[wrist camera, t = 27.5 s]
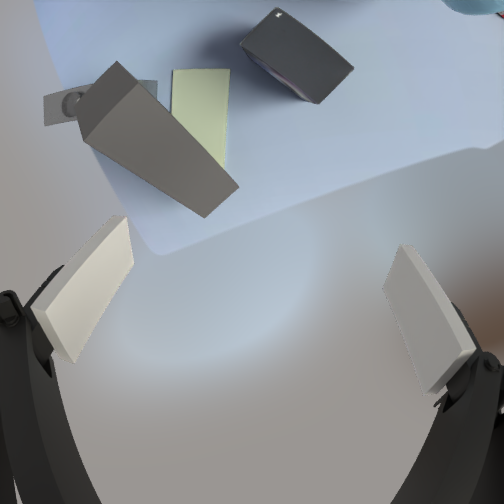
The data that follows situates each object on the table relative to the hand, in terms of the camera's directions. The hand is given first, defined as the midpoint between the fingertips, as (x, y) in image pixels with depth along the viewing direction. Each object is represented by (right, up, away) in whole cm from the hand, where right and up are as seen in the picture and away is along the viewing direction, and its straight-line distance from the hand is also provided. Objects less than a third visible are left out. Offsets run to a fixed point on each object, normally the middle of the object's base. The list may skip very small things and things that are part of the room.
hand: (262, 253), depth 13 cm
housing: (-20, +23, +21) cm, 37 cm away
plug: (-12, +14, +16) cm, 25 cm away
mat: (-8, +17, +24) cm, 30 cm away
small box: (+5, +25, +18) cm, 31 cm away
